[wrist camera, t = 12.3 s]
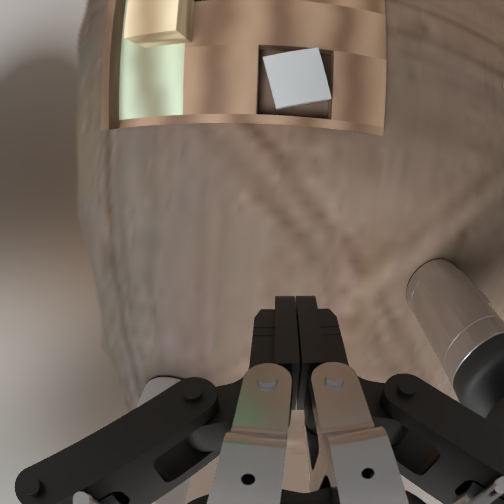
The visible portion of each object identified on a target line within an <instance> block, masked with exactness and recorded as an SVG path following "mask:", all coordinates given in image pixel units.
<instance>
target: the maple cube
mask: <svg viewBox="0 0 504 504" xmlns="http://www.w3.org/2000/svg"><path fill="white" fill-rule="evenodd" d="M193 11H194V0H128V3H127V11H126V19H125V29H124V39H126V40H128V41H131V42H133V43H135V44H137V45H140V46H142V47H144V48H148V47H155V46H162V45H171V44H180V43H191V39H192V24H193Z"/></svg>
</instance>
